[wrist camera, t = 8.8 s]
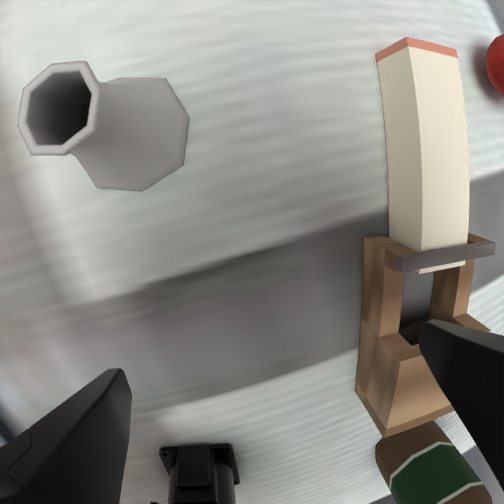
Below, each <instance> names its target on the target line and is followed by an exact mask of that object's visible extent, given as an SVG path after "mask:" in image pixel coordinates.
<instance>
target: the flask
mask: <svg viewBox="0 0 504 504" xmlns="http://www.w3.org/2000/svg"><path fill="white" fill-rule="evenodd" d="M188 121H189V116H188V115H187V113H186V111H185V110H184V108H183V106H182V105H181V103H180V101H179V100H178V98H177V96H176V95H175V93H174V91H173V90H172V88H171V86H170V85H169V83H168V81H167V80H166V79H159V78H117V79H114V80H111V81H109V82H106V83H100V82H99V81H97V79H96V77H95V75H94V73H93V71H92V70H91V68H90V66H89V64H88V62H86V61H75V62H64V63H55V64H51V65H50V66H48V67H47V68H46V69H45V70H44V71H42V72H41V73H40V74H39V75H38V76H36V77H35V78H34V79H33V80H32V81H31V82H30V83H29V84H27V85H26V86H25V87H24V88H23V92H22V97H21V103H20V109H19V116H18V123H17V126H18V128H19V130H20V133H21V135H22V137H23V139H24V141H25V144H26V146H27V148H28V150H29V152H30V154H31V155H68V154H69V153H70V154H72V155H74V156H76V158H77V159H78V161H79V162H80V163H81V165H82V166H83V167H84V169H85V170H86V171H87V173H88V174H89V176H90V178H91V179H92V181H93V183H94V184H95V186H96V187H97V188H101V189H117V190H131V191H143V190H145V189H146V188H148V187H149V186H151V185H152V184H154V183H155V182H157V181H158V180H160V179H161V178H163V177H165V176H166V175H168V174H169V173H171V172H173V171H174V170H176V169H177V168H179V167H181V166H182V165H183V159H184V151H185V143H186V135H187V128H188Z"/></svg>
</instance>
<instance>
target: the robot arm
mask: <svg viewBox="0 0 504 504" xmlns="http://www.w3.org/2000/svg"><path fill="white" fill-rule="evenodd" d="M419 349H420V352H421V354H422V356H423V358H424V359H425V361H426V363H427V365H428V367H429V369H430V371H431V372H432V374H433V376H434V378H435V380H436V382H437V384H438V385H439V387H440V389H441V390H442V392H443V393H444V395H445V396H446V398H447V399H448V401H449V402H450V404H451V405H452V407H453V408H454V410H455V411H456V413H457V414H458V416H459V418H460V419H461V421H462V422H463V424H464V425H465V427H466V428H467V430H468V432H469V433H470V435H471V436H472V438H473V440H474V441H475V443H476V445H477V446H478V448H479V450H480V451H481V453H482V454H483V456H484V458H485V459H486V461H487V463H488V464H489V466H490V468H491V470H492V471H493V473H494V475H495V477H496V479H497V480H498V482H499V484H500V486H501V487H502V489H503V491H504V336H502V335H498V334H494V333H489V332H485V331H481V330H477V329H473V328H469V327H465V326H460V325H456V324H452V323H448V322H444V321H440V320H436V319H433V320H430V321H426V322H424V323H423V325H422V330H421V336H420V342H419ZM131 404H132V393H131V390H130V387H129V384H128V381H127V379H126V376H125V373H124V371H123V370H122V369H121V368H114V369H108V370H106V371H105V372H104V373H102V374H101V375H99V376H98V377H97V378H95V379H94V380H93V381H91V382H90V383H89V384H87V385H86V386H85V387H83V388H82V389H81V390H79V391H78V392H77V393H75V394H74V395H73V396H71V397H70V398H69V399H67V400H66V401H64V402H63V403H62V404H60V405H59V406H58V407H56V408H55V409H54V410H52V411H51V412H50V413H48V414H47V415H46V416H44V417H43V418H41V419H40V420H39V421H37V422H36V423H35V424H33V425H32V426H31V427H30V429H29V428H28V429H26V430H25V431H24V432H22V433H21V434H20V435H18V436H17V437H15V438H14V439H13V440H11V441H10V442H8V443H7V444H5V445H4V446H2V447H0V504H119V501H120V494H121V487H122V480H123V474H124V468H125V462H126V456H127V450H128V444H129V434H130V417H131ZM159 455H160V457H161V459H162V461H163V463H164V466H165V468H166V470H167V472H168V474H169V476H170V480H169V495H168V504H236V499H235V490H234V485H237V484H239V483H240V479H239V475H238V470H237V466H236V462H235V457H234V453H233V448H232V446H231V445H229V444H223V445H212V446H198V447H180V448H161V449H160V451H159ZM151 504H158V503H157V502H151Z"/></svg>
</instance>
